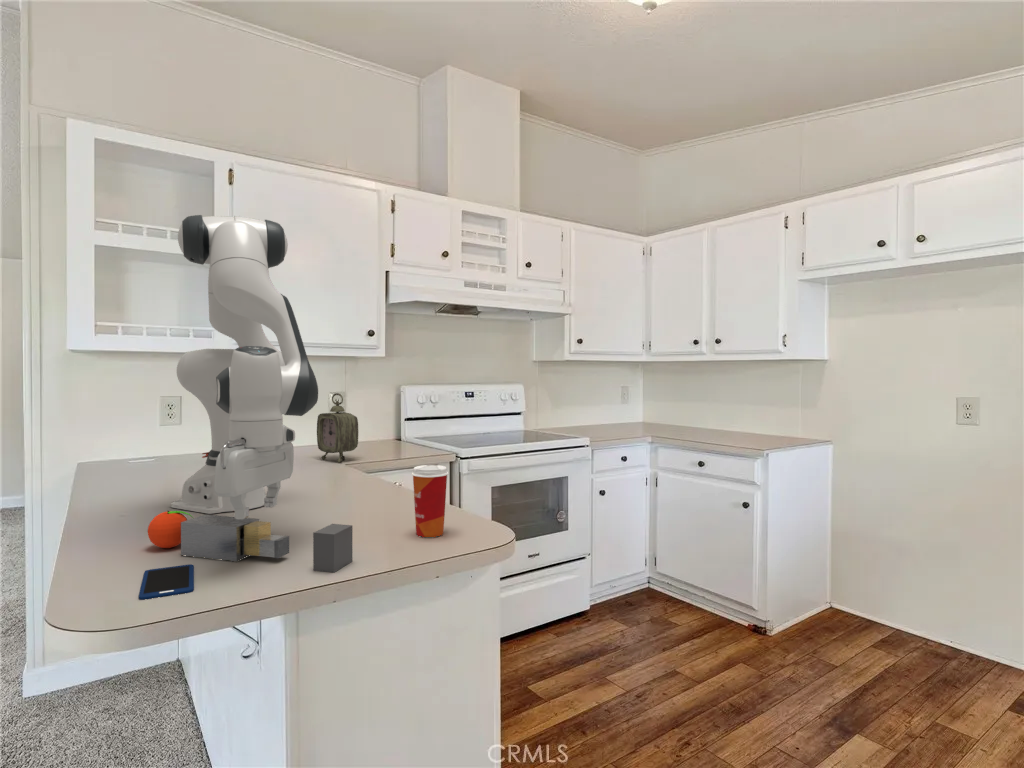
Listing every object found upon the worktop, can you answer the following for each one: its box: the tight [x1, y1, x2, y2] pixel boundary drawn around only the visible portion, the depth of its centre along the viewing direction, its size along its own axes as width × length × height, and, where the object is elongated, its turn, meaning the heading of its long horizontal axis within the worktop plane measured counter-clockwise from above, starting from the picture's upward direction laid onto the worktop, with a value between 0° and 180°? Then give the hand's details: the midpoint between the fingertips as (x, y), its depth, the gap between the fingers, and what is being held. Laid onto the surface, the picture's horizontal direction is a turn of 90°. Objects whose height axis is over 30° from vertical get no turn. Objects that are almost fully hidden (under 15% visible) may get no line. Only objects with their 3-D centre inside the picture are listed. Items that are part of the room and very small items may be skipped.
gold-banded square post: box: [240, 520, 290, 559], centre depth 108 cm, size 19×3×5 cm, turn 75°
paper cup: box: [411, 464, 449, 538], centre depth 123 cm, size 8×8×14 cm
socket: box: [312, 523, 353, 573], centre depth 103 cm, size 4×6×6 cm, turn 165°
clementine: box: [147, 510, 194, 549], centre depth 114 cm, size 8×7×7 cm
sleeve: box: [180, 514, 260, 562], centre depth 109 cm, size 12×6×6 cm, turn 75°
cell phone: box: [138, 563, 195, 601], centre depth 95 cm, size 7×14×1 cm, turn 28°
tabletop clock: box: [316, 392, 359, 464], centre depth 218 cm, size 14×9×25 cm, turn 49°
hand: (256, 512), depth 107 cm, fingers open, 8 cm apart
